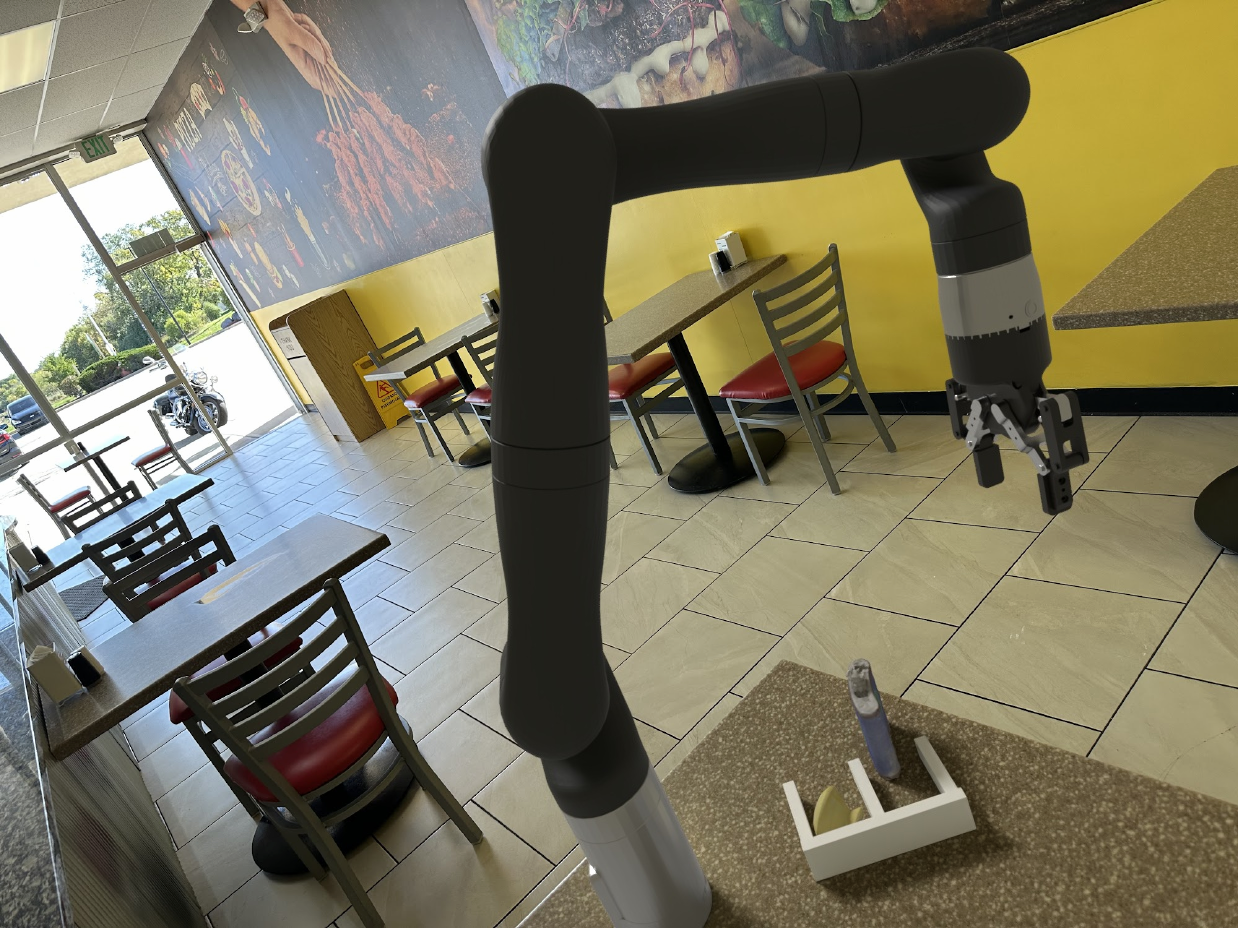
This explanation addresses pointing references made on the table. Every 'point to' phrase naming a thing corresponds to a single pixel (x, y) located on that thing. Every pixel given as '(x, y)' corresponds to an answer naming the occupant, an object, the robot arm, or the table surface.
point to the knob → (834, 812)
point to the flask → (872, 718)
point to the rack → (884, 822)
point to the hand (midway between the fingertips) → (1023, 497)
